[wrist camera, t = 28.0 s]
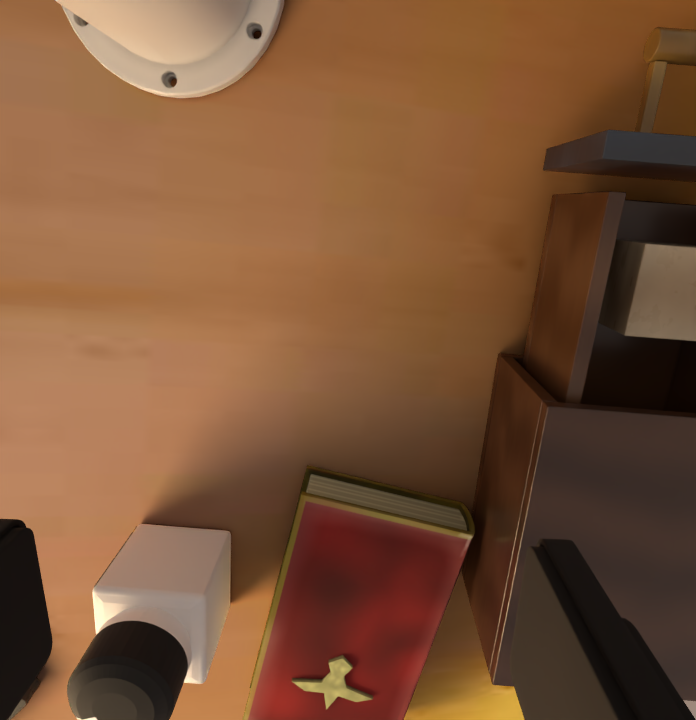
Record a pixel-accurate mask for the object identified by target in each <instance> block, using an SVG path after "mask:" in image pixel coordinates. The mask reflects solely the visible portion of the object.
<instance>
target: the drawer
mask: <svg viewBox="0 0 696 720" xmlns="http://www.w3.org/2000/svg"><path fill="white" fill-rule="evenodd" d="M643 57H644V60H645V61H646V62H650V64H649V66H648V71H647V76H646V80H645V85H644V90H643V94H642V99H641V104H640V108H639V113H638V117H637V122H636V127H635V131H634V132H632V131H619V130H606V131H603V132H600V133H597V134H593V135H590V136H587V137H584V138H580V139H577V140H574V141H571V142H568V143H564V144H561V145H558V146H555V147H552V148H548V149H547V151H546V157H545V162H544V168H543V170H544V171H556V172H569V173H582V174H595V175H608V176H621V177H634V178H647V179H660V180H673V181H686V182H696V136H684V135H671V134H658V133H652V129H653V125H654V120H655V116H656V111H657V107H658V103H659V98H660V94H661V89H662V85H663V80H664V76H665V71H666V67H667V64H676V65H689V66H696V30H689V29H676V28H663V27H657V28H655V29H654V30H653V31H652V32H651V34H650V35H649V37H648V39H647V41H646V44H645V48H644V53H643ZM625 196H626V193H625V192H614V191H605V192H589V193H573V194H556V195H553V196H552V201H551V207H550V212H549V218H548V224H547V229H546V235H545V240H544V246H543V251H542V257H541V263H540V268H539V274H538V279H537V285H536V291H535V296H534V302H533V307H532V313H531V318H530V324H529V330H528V335H527V341H526V346H525V352H524V358H523V363H522V367H523V368H524V369H525V370H526V371H527V372H528V373H529V374H530V375H531V376H532V377H533V378H534V379H535V380H536V381H537V382H538V383H539V384H540V385H541V386H542V387H543V388H544V389H545V390H546V391H547V392H548V393H549V394H550V395H551V396H552V397H553V398H554V399H555V400H556V401H557V402H561V403H574V404H587V405H600V406H612V407H625V408H638V409H651V410H663V411H676V412H689V413H696V341H686V340H673V339H660V338H647V337H635V336H624V335H622V334H620V333H618V332H616V331H614V330H612V329H610V328H608V327H606V326H604V325H602V324H600V323H598V320H599V316H600V311H601V307H602V302H603V297H604V293H605V288H606V284H607V279H608V274H609V270H610V265H611V261H612V256H613V251H614V247H615V242H616V238H617V239H630V240H642V241H655V242H668V243H678V244H687V245H696V205H689V204H676V203H663V202H650V201H637V200H625Z"/></svg>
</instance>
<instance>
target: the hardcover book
mask: <svg viewBox="0 0 696 720" xmlns="http://www.w3.org/2000/svg"><path fill="white" fill-rule="evenodd" d="M474 533H475V527H474V522H473V519H472V517H471V514H470V512H469V511H468V509H467V508H466V506H465V505H464V504H463V503H462V502H458V501H454V500H449V499H445V498H441V497H437V496H433V495H429V494H425V493H420V492H416V491H412V490H408V489H404V488H400V487H396V486H391V485H387V484H383V483H379V482H375V481H371V480H367V479H362V478H358V477H354V476H350V475H346V474H342V473H338V472H333V471H329V470H325V469H321V468H317V467H313V466H309V465H307V469H306V473H305V477H304V480H303V484H302V488H301V492H300V496H299V500H298V503H297V507H296V511H295V515H294V519H293V523H292V527H291V530H290V534H289V538H288V542H287V546H286V550H285V554H284V557H283V561H282V565H281V569H280V573H279V577H278V581H277V584H276V588H275V592H274V596H273V600H272V604H271V607H270V611H269V615H268V619H267V623H266V627H265V631H264V634H263V638H262V642H261V646H260V650H259V654H258V658H257V661H256V665H255V669H254V673H253V677H252V681H251V685H250V688H251V689H250V693H249V697H248V701H247V704H246V708H245V712H244V716H243V720H404V717H405V714H406V712H407V709H408V707H409V704H410V701H411V699H412V696H413V693H414V691H415V688H416V686H417V683H418V680H419V678H420V675H421V672H422V670H423V667H424V665H425V662H426V659H427V657H428V654H429V651H430V649H431V646H432V644H433V641H434V638H435V636H436V633H437V630H438V628H439V625H440V623H441V620H442V617H443V615H444V612H445V609H446V607H447V604H448V602H449V599H450V596H451V594H452V591H453V589H454V586H455V583H456V581H457V578H458V575H459V573H460V570H461V568H462V565H463V562H464V560H465V557H466V554H467V552H468V549H469V547H470V544H471V541H472V539H473V536H474Z"/></svg>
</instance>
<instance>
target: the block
mask: <svg viewBox="0 0 696 720" xmlns="http://www.w3.org/2000/svg"><path fill="white" fill-rule="evenodd" d="M598 323H600V324H602V325H604V326H606V327H608V328H610V329H612V330H614V331H616V332H618V333H620V334H622V335H624V336H635V337H647V338H660V339H673V340H686V341H696V245H687V244H678V243H668V242H655V241H642V240H630V239H617V238H616V242H615V247H614V251H613V256H612V261H611V265H610V270H609V274H608V279H607V284H606V288H605V293H604V297H603V302H602V307H601V311H600V316H599V320H598Z"/></svg>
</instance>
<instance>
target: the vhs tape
mask: <svg viewBox="0 0 696 720" xmlns="http://www.w3.org/2000/svg"><path fill="white" fill-rule="evenodd" d="M39 685H40V681H39V680H38V679H37V678H35V680H34V681H33V683H32V684H31V686H30V687H29V689H28V690H27V692H26V693H25V695H24V696H23V698H22V699H21V701H20V702H19V704H18V705H17V707H16V708H15V710H14V711H13V712H12V714H11V715H10V717H9V718H8V720H11V719H12V718H13V717H14V716H15V715H16V714H17V713H18V712H19V711H20V710H21V709H22V708H24V707H25V706H26V704H27V703H28V701H29V700H30V698H31V697H32V695H33V694H34V692H35V691H36V689H37V688H38V686H39Z"/></svg>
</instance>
